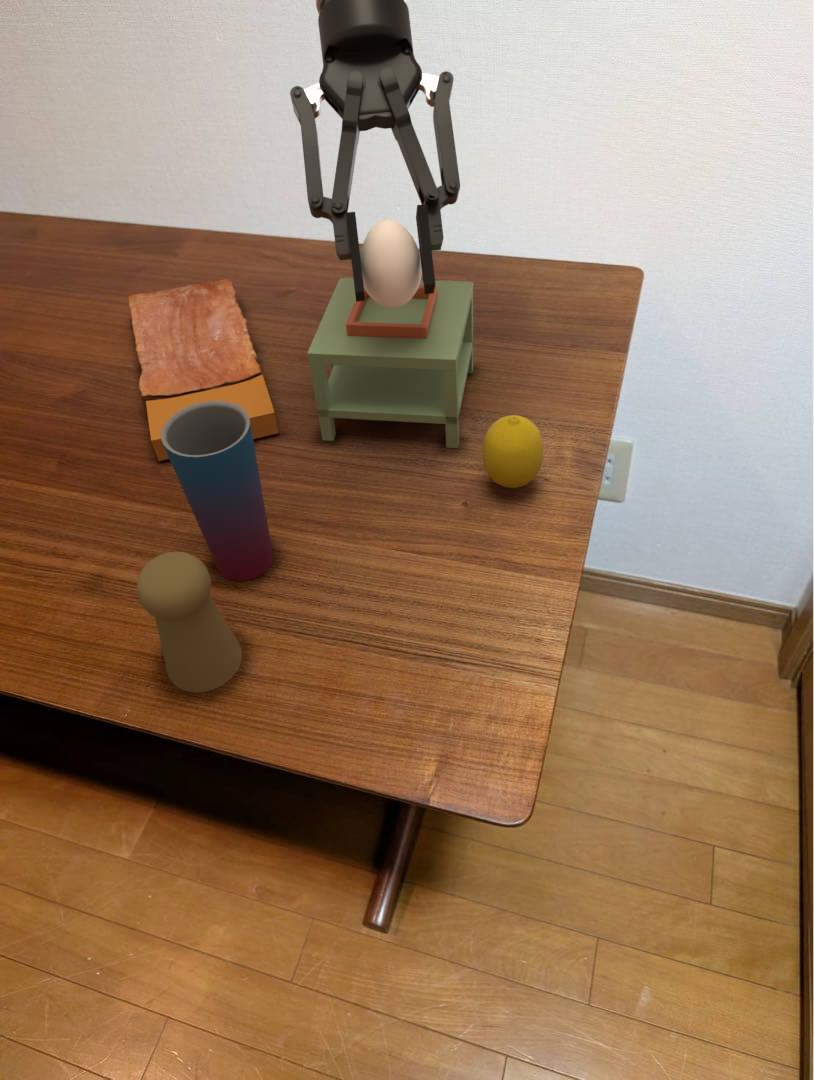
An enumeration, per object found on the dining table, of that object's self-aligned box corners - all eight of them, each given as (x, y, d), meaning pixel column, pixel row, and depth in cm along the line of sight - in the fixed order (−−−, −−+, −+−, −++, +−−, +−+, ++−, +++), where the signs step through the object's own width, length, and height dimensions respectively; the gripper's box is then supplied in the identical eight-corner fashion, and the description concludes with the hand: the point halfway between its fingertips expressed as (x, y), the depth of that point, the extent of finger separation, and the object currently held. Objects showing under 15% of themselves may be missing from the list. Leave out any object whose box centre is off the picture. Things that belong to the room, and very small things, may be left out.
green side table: (473, 367, 92) (472, 270, 84) (457, 448, 83) (455, 348, 75) (350, 362, 95) (338, 266, 86) (322, 440, 85) (305, 342, 77)
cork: (192, 622, 70) (155, 531, 62) (255, 641, 68) (226, 549, 60) (152, 680, 66) (107, 590, 58) (218, 701, 64) (181, 611, 56)
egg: (417, 322, 72) (412, 238, 66) (357, 319, 73) (347, 236, 67) (428, 290, 75) (424, 208, 70) (371, 288, 76) (362, 206, 71)
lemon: (477, 501, 78) (477, 434, 72) (487, 463, 81) (488, 396, 75) (536, 508, 76) (541, 441, 71) (544, 469, 80) (549, 402, 74)
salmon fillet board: (154, 464, 84) (145, 439, 82) (134, 317, 104) (126, 293, 102) (281, 434, 86) (275, 409, 84) (237, 296, 106) (231, 272, 104)
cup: (235, 601, 71) (191, 469, 60) (192, 560, 74) (143, 428, 64) (298, 559, 74) (267, 426, 63) (254, 521, 77) (218, 389, 67)
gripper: (467, 27, 72) (497, 294, 73) (259, 47, 72) (291, 316, 72) (477, -31, 65) (510, 267, 65) (245, -8, 64) (280, 292, 65)
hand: (395, 292), depth 69 cm, fingers closed on egg, 5 cm apart
